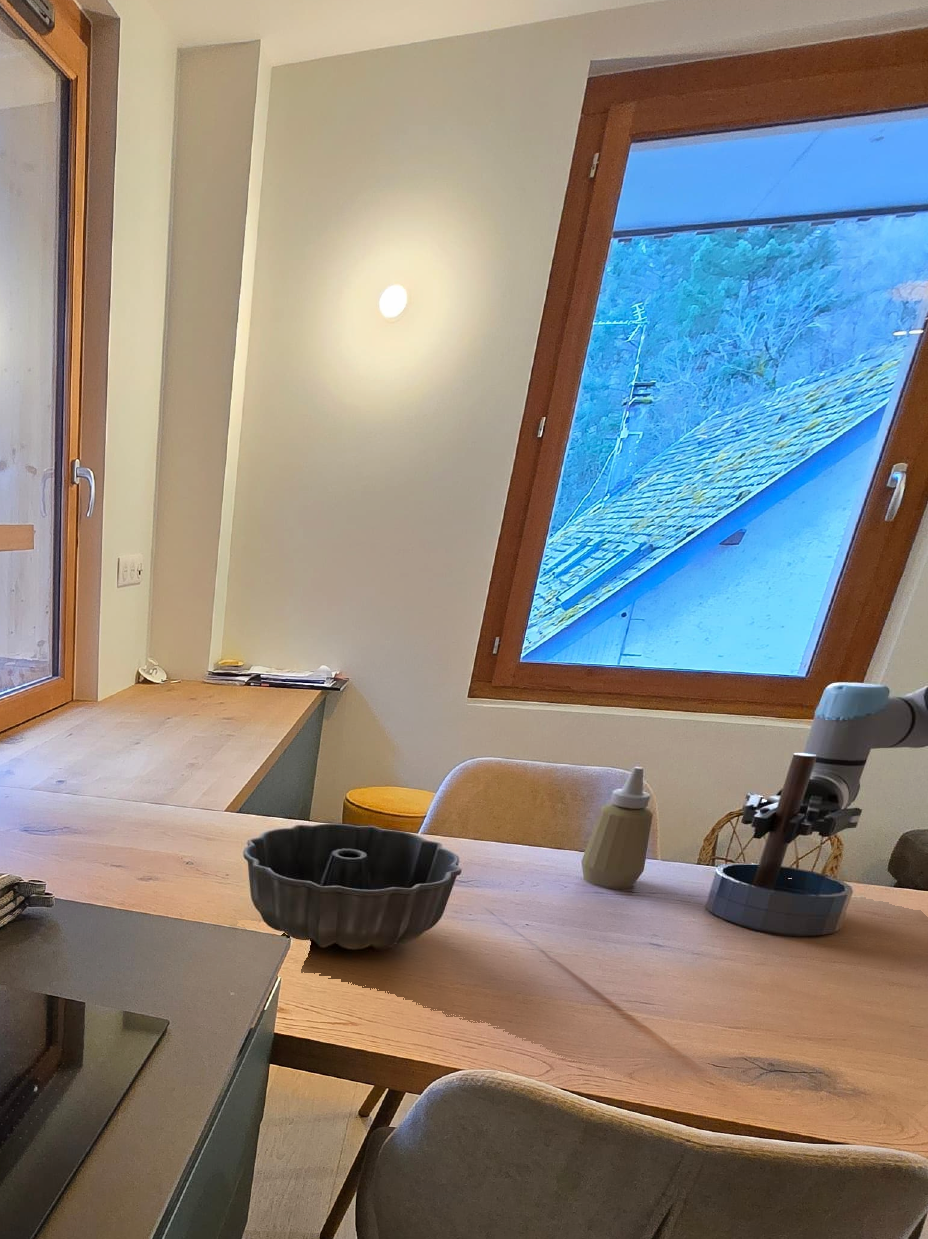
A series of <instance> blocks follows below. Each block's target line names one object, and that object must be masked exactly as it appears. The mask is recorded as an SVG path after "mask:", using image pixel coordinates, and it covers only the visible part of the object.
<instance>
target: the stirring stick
mask: <svg viewBox="0 0 928 1239" xmlns="http://www.w3.org/2000/svg"><path fill="white" fill-rule="evenodd" d="M816 758H817V755H813V754H807V753H803V752H794V753H793V754H792V757H791V761H790V764H789V767H788V771H787V774H786V777H785V780H784V783H783V786H782V788H783V789H782V788H781V789H782V792H781V796H780V799H779V802H778V805H777V808H776V811H775V815H774V818H773V821H772V824H771V827H770V831H769V832H768V833H767V837H766V840H765V843H764V847H763V850H762V852H761V856H760V860H759V865H758V869H757V872H756V875H755V878H754V881H753V884H752V885H753V886H757V887H762V888H767V889H771V890H774V887H775V884H776V881H777V878H778V875H779V872H780V869H781V866H783V863H784V859H785V856H786V853H787V850H788V846H789V844H787V843H782V842H783V838H784V835H785V832H786V829H787V826H788V823H789V821H791V820H792V819H793V818H794V817H796V816H797V815H798V813H799V810H800V807H801V804H802V801H803V798H804V795H805V792H806V789H807V785H808V782H809V779H810V776H811V773H812V770H813V767H814V764H815V761H816Z"/></svg>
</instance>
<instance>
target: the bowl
mask: <svg viewBox="0 0 928 1239" xmlns="http://www.w3.org/2000/svg"><path fill="white" fill-rule="evenodd" d="M758 865H759V863H758V862H731V863H723V864H720V865H719V866H716V868H715V871H714V874H713V878H712V881H711V885H710V888H709V891H708V895H707V899H706V901H705V906H704V907H705V908H706V909H707V910H708V911H709V912H710V913H711V914H713V915H715V916H717V917H719V918H721V919H723V920H725V921H727V922H730V923H732V924H735V925H737V926H740V927H743V928H746V929H749V930H753V931H758V932H762V933H766V934H772V935H779V936H788V937H801V938H803V937H804V938H807V937H808V938H809V937H820V936H824V935H830V934H834V933H836V932H838V931H839V930H840V929H841V927H842V924H843V920H844V918H845V915H846V913H847V911H848V907H849V904H850V902H851V899H852V896H853V893H854V890H853V887H852V886H851V885H850V884H848V883H847V882H845V881H843V880H840V879H838V878H835V877H832V876H830V875H826V874H823V873H819V872H816V871H812V870H807V869H801V868H797V867H792V866H786V865H781V869H780V872H779V875H778V878H777V881H776V884H775V887H774V890H771V889H767V888H762V887H757V886H753V885H752V884H753V881H754V878H755V875H756V872H757V869H758ZM788 878H792V879H788Z"/></svg>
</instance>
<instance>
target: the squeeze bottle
mask: <svg viewBox="0 0 928 1239" xmlns="http://www.w3.org/2000/svg"><path fill="white" fill-rule="evenodd" d="M650 798H651V794H650V793H649V792H646V791H644V767H642V766H633V767H632V769H631V771H630V773H629V775H628V777H627V779H626V781H625V783H624V784H623V787H622V788H616V789H614V790H613V791H612V794H611V797H610V801H609V803H607V804H605V805H603V806H601V808H600V811H599V814H598V816H597V819H596V821H595V823H594V826H593V829H592V832H591V834H590V837H589V840H588V842H587V845H586V848H585V851H584V854H583V856H582V859H581V869H582V870H581V871H582V877H583V880H584V881H585V882H586V883H588V884H590V885H592V886H596V887H599V888H605V889H610V890H626V889H627V890H628V889H630V888H632V887H633V886H634V885H635V883H636V882H637V881H638V879H639V878H640V876H641V875H642V874H643V872H644V871H645V864H646V859H647V854H648V852H647V851H648V847H649V840H650V835H651V834H650V833H651V827H652V822H653V816H654V815H653V814H654V813H653V811H651V809H649V807H648V804H649V802H650Z"/></svg>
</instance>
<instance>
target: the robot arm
mask: <svg viewBox="0 0 928 1239" xmlns="http://www.w3.org/2000/svg"><path fill="white" fill-rule="evenodd" d="M890 693H891V690H890V688H889V687H888V686H886V685H883V684H878V683H877V684H876V683H867V682H866V683H865V682H844V681H843V682H832V683H831V684H829V685H827V686H826V687H825V689H823V693H822V696H821V698H820V700H819V703H818V706H817V707H816V709H815V710H814V715H813V716H814V717H813V720H812V723H811V726H810V728H809V733H808V737H807V740H806V743H805V746H804V749H803V752H802V753H807V754H813V755H817V758H816V761H815V764H814V767H813V770H812V773H811V776H810V779H809V782H808V785H807V789H806V792H805V795H804V798H803V801H802V804H801V807H800V810H799V813H798V815H797V816H796V817H794V818H793V819H792V820H791V821H789V823H788V826H787V829H786V832H785V835H784V838H783V842H782V843H787V844H788V845H790V844H792V842H793V841H794V840H795V839H797V838H798V837H799V836H804V837H805V836H806V837H807V836H812V835H813V833H818V834H817V835H818V836H819V837H822V838H827V837H828V838H829V837H831V836H834V835H836V834H839V833H840V832H842V831H845V830H846V829H856V828H857V826H858V823H859V820H860V819H861V815H862V812H863V809H862V808H859V807H850V806H852V803H854V802H855V801H856V799H857V797H858V795H859V792H860V789H861V778H862V775H863V772H864V770H865V766H866V764H867V761H868V758H869V755H870V753H871V750H873V749H875V750H876V749H895V748H897V749H898V748H900V749H901V748H911V749H917V748H926V747H928V685H926V686H923V687H921V688H920V689H917V690H914V691H913V692H911V693H907V694H905V695H890ZM782 789H783V787H782V788H781V789H780V790H779V791H777V793H776V794H775V795H771V796H768V797H767V798H766V799H764V796H763V795H758V794H756V793H755V792H749V793H746V795H745V798H744V802H743V805H742V808H741V811H742V812H743V814H742V816H741V817H742V818H741V820H740V824H743V825H750V827H751V828H754V829H753V837H752V838H753V839H757V840H761V839H762V838H764V836H766V835H768V834H769V831H770V827H771V824H772V821H773V818H774V815H775V811H776V808H777V805H778V802H779V799H780V796H781V792H782ZM848 807H849V808H848Z"/></svg>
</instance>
